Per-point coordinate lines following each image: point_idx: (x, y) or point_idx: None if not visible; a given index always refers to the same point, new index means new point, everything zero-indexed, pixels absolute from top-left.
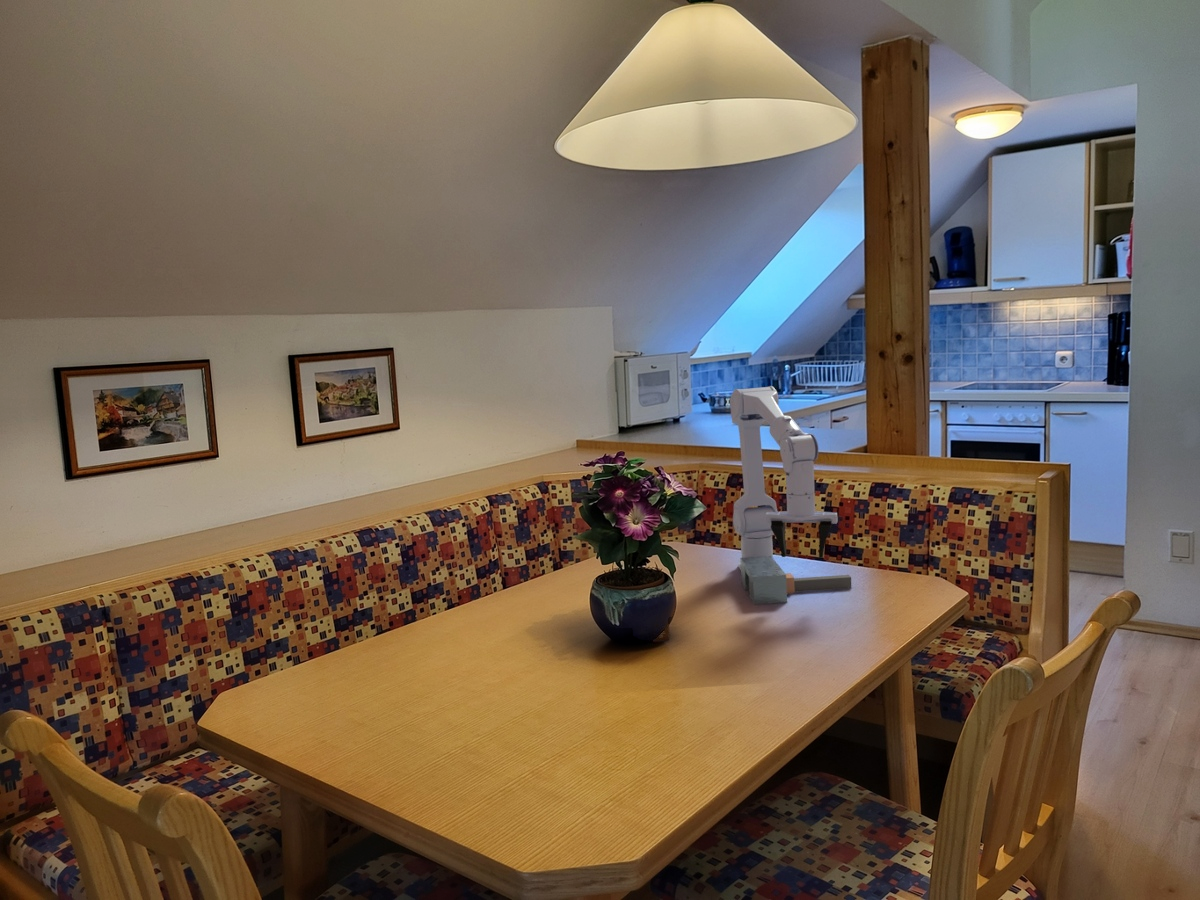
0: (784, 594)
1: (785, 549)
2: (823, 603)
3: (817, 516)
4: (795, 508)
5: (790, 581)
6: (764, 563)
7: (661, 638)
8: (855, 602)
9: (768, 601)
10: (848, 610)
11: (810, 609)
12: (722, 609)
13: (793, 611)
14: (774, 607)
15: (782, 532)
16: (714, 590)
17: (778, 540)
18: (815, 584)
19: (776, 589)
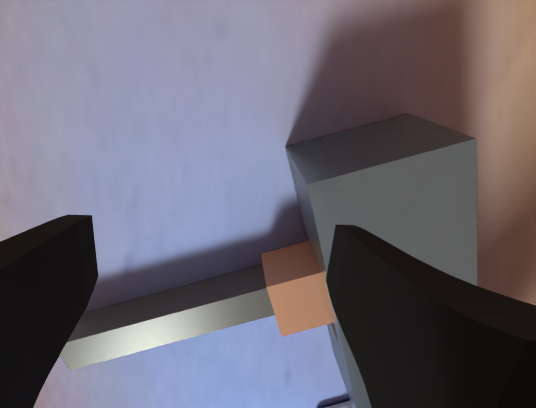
0: (300, 153)
1: (342, 283)
2: (145, 141)
3: None
4: None
5: (279, 274)
6: None
7: None
8: (19, 160)
9: (357, 129)
10: (24, 49)
11: (189, 58)
12: (532, 45)
13: (258, 26)
14: (333, 80)
15: (463, 318)
16: (517, 259)
17: (445, 275)
18: (188, 297)
19: (338, 150)
